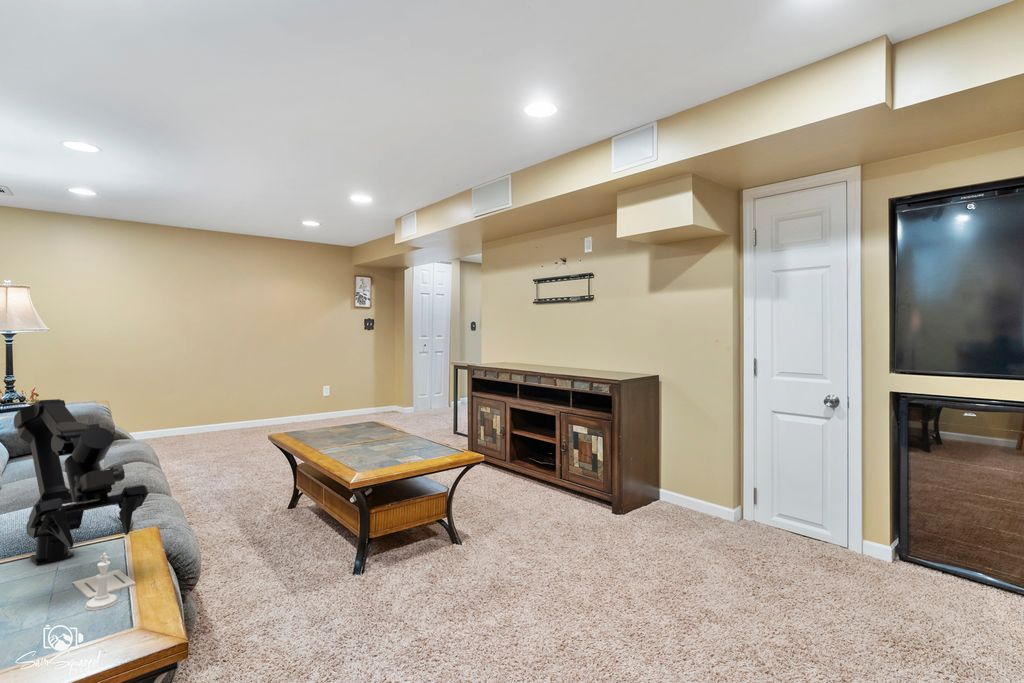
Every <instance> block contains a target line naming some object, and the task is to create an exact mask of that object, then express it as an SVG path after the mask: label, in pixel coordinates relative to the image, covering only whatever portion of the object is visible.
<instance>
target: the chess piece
mask: <svg viewBox="0 0 1024 683" xmlns="http://www.w3.org/2000/svg"><path fill="white" fill-rule="evenodd" d="M99 559H100V560H102V561H100V562H98V563H97V568H98V569H97V570H98V572H99V573H98V574H96V575H97V576H96V575H95V576H96V578H98V579H100V581H99V587H98V592H97V595H96V596H95V597H94V598H91V599H88V601H87V602H86V603H85V606H84V607H85V609H86V610H88V611H100V610H103V609H108V608H110V607H111V606H114V605H116V603H118V596H117V595H115V594H111V593H108V592H107V584H106V577H108V576H110V573H108V572H109V571H108V570H109V568H110V565H111V561H109V559H110V557H109V556H107V552H103V553H102V555H100V556H99Z"/></svg>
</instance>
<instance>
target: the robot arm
mask: <svg viewBox="0 0 1024 683" xmlns="http://www.w3.org/2000/svg"><path fill="white" fill-rule="evenodd" d="M13 427H14V429H17V433H18V436H19V438H21V440H23V441H25V443H27V444H29V445H30V449H31V450H30V451H31V455H32V461H33V466H34V471H35V476H36V482H37V487H38V491H39V499H38V500H37V502H36V503H35V504H34V505H33V507H32V509H31V511H30V514H29V516H28V520H27V523H26V526H25V528H26V530H25V531H26V535H28V536H29V537H30V538H31V539H33V540H34V539H36V544H35V553H34V554H32V555H30V556H29V558H30V560H31V561H32V562H33V563H34V564H35V565H37V566H40V565H44V564H48V563H52V562H58V561H60V560H61V561H62V560H65V559H69V558H72V557H74V552H72V551H71V550H70V549H73V547H74V539H73V535H72V533H71V530H77V529H80V528H81V525H82V520H83V517H84V512H85V511H88V510H94V509H98V508H99V509H100V508H104V507H109V506H110V507H111V506H114V505H118V509H119V512H118V514H119V519H120V523H121V526H122V531H123V533H124V535H125V536H128V535H129V534H130V529H131V525H132V518H133V514H134V512H135V511H137V509H138V508H139V507H141V506H143V504H144V502H145V500H146V498H147V497H148V496H149V489H148V486H146V485H144V484H142V483H141V484H136V485H130V486H125V487H123V490H122V492H121V493H120V494H119V493H118V494H115V495H114V494H113V495H109V494H110V493H111V492H112V490H113V487H112V486H114V485H115V484H116V483H117V482H121V481H123V480H124V479H125V477H126V474H125V469H124V466H123V464H120V465H119V464H118V465H113V466H112V467H110V468H109V469H102V467H101V462H102V461H103V460H105V458H106V455H107V454H108V452H109V451H110V449H111V447H112V445H113V442H114V440H115V435H114V433H112V432H111V431H110V430H108V429H106V428H104V427H100V424H99V423H91V424H88V423H83V422H80V421H78V420H77V419H76V417H74V415H73V414H72V413H71V412H70V410H69V409H68V408H67V406H66V402H65V400H63V399H60V398H58V399H56V398H55V399H40V400H37V401H35V402H34V403H33V404H31V405H28V406H25V407H23V408H20V409H19V410H18V411H17V412H16V414H15V415H14V417H13ZM63 456H68V457H67V458H65V460H64V462H63V463H64V464H63V465H64V473H66V478H67V482H68V487H67V485H66V483H65V482H66V481H65V478H64V477H65V476H64V473H63V469H62V463H61V459H60V457H63ZM108 493H109V494H108Z"/></svg>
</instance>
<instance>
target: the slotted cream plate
mask: <svg viewBox="0 0 1024 683" xmlns="http://www.w3.org/2000/svg"><path fill="white" fill-rule="evenodd" d="M107 572H108V573H110V576H108V577H106V584H107V592H108V593H109V594H111V593H113V592H116V591H120V590H123V589H126V588H129V587H132V586H136V584H137V583H136V582H135V581H134V580H133V579H131V578H130V577H129V576H127V575H126V574H125V573H124V572H122V571H121V570H120V569H115V570H111V571H107ZM97 575H98V574H96V575H94V576H90V577H86V578H82V579H78V580H76V581H72V583H73V584H74V585H75V586H76V587H77V588H78V589H79V590H80V591H81V592H82V593H83V594H84V595H85V596H86V597H85V596H84V595H83V594H82V595H83V596H84V597H85V598H87V600H90V598H91V599H92V598H94V597H95V596H96V595H97V592H98V587H99V581H100V579H98V578H96V576H97ZM72 583H71V584H72ZM73 584H72V585H73ZM74 585H73V586H74ZM75 586H74V587H75ZM76 587H75V588H76ZM77 588H76V589H77ZM78 589H77V590H78ZM79 590H78V591H79ZM80 591H79V592H80ZM81 592H80V593H81Z"/></svg>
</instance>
